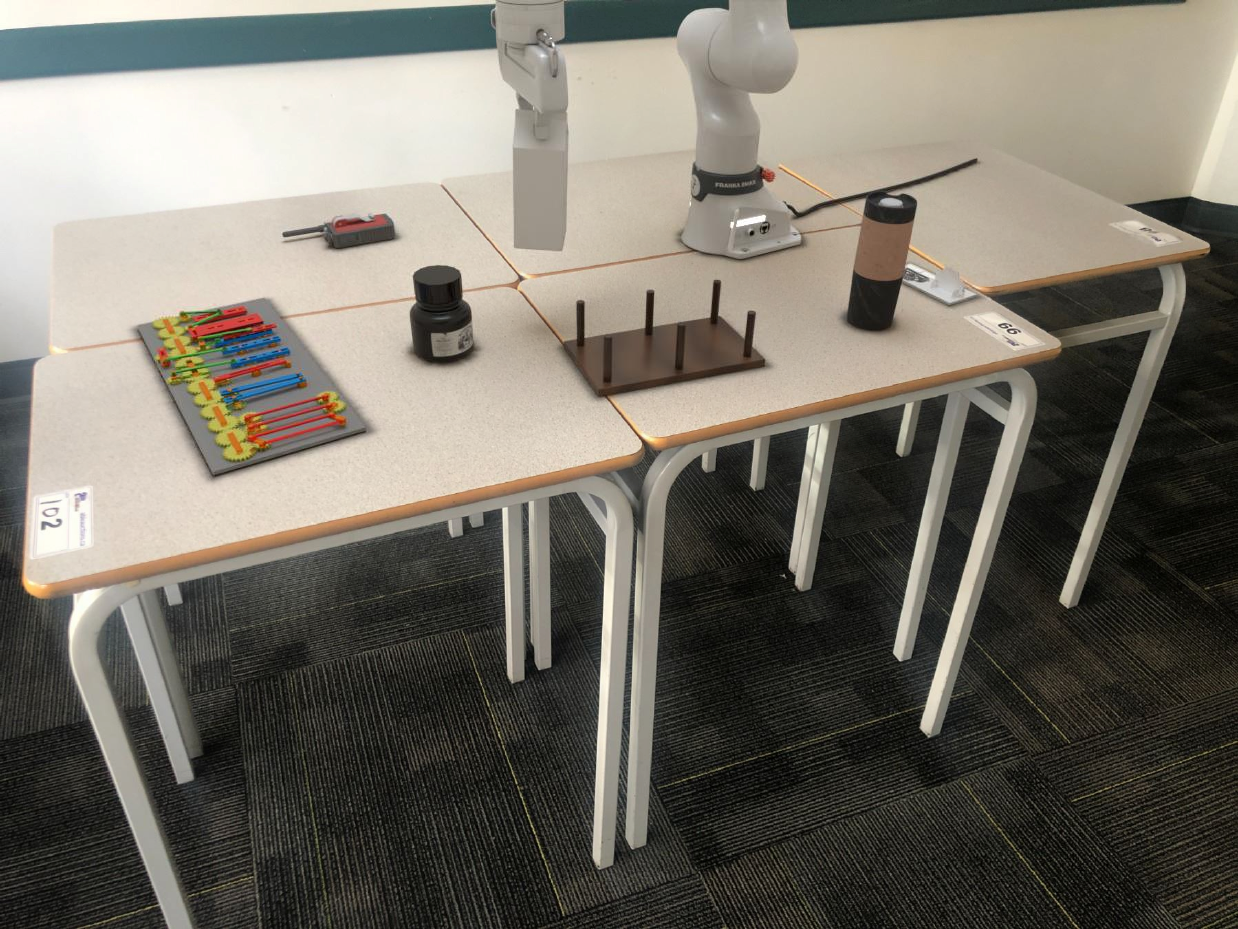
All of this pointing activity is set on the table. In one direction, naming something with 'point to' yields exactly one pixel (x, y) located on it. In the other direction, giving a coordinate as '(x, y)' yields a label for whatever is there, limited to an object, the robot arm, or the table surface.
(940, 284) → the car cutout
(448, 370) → the table surface
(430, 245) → the table surface
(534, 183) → the milk carton
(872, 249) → the travel mug
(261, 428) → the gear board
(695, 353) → the peg rack
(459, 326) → the ink bottle
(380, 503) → the table surface
